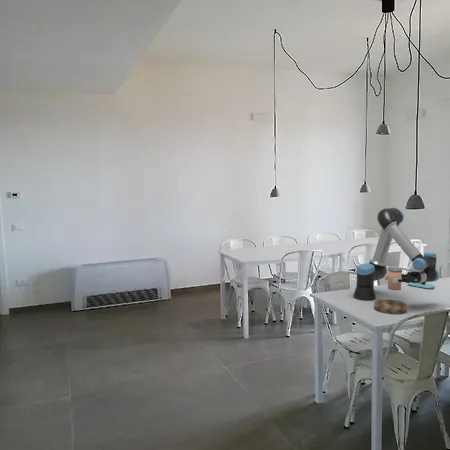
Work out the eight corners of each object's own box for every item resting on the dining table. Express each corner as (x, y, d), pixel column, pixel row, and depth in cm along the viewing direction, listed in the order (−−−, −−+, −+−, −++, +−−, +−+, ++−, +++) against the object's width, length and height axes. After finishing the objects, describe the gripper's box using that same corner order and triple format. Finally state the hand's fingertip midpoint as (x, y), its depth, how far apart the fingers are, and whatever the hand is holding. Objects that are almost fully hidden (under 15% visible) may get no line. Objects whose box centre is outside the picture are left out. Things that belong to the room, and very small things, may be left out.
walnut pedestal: (374, 312, 303) (374, 306, 303) (373, 304, 323) (374, 298, 322) (408, 315, 298) (408, 309, 298) (405, 306, 317) (405, 300, 317)
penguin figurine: (436, 288, 369) (437, 268, 367) (430, 290, 362) (431, 270, 360) (411, 283, 384) (412, 264, 382) (405, 285, 377) (406, 266, 375)
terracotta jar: (384, 287, 312) (385, 268, 310) (395, 286, 315) (396, 267, 313) (393, 290, 304) (394, 270, 303) (403, 289, 307) (405, 269, 305)
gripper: (428, 286, 305) (399, 289, 298) (406, 279, 325) (378, 281, 317) (429, 274, 305) (400, 277, 297) (406, 268, 324) (378, 270, 316)
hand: (388, 279), depth 307 cm, fingers closed on terracotta jar, 8 cm apart
